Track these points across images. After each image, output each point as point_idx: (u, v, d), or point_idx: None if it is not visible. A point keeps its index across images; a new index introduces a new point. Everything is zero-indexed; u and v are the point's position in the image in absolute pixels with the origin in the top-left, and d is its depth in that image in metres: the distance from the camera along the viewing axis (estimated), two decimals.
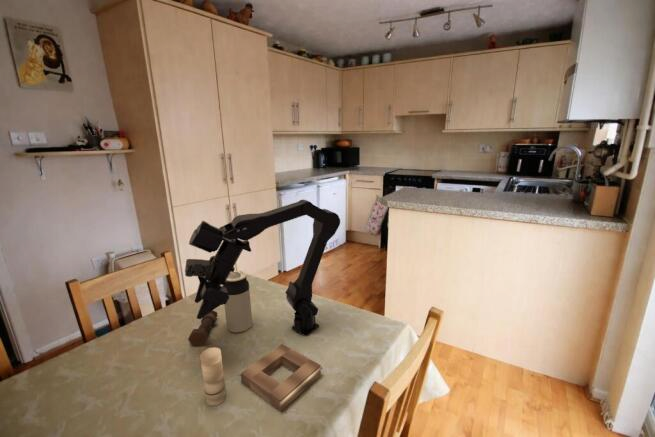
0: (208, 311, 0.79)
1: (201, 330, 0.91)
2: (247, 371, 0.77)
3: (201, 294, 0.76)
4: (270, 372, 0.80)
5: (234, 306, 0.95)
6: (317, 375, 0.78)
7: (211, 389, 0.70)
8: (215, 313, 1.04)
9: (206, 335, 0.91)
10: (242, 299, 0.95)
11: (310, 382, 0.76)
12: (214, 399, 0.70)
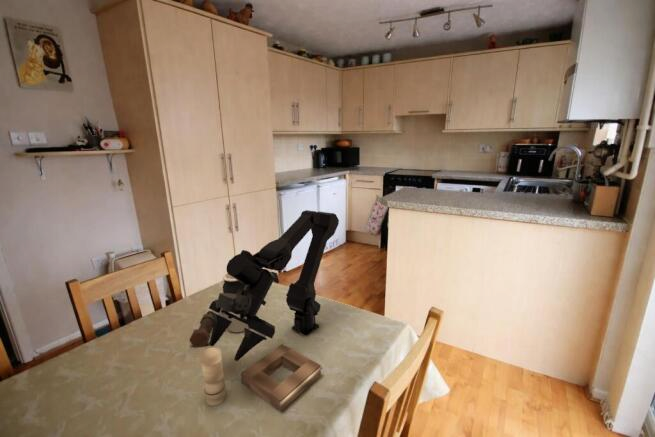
0: (248, 350, 0.71)
1: (202, 330, 0.91)
2: (247, 371, 0.77)
3: (249, 330, 0.70)
4: (270, 372, 0.80)
5: None
6: (317, 375, 0.78)
7: (211, 389, 0.70)
8: None
9: (207, 335, 0.91)
10: None
11: (310, 382, 0.76)
12: (214, 399, 0.70)
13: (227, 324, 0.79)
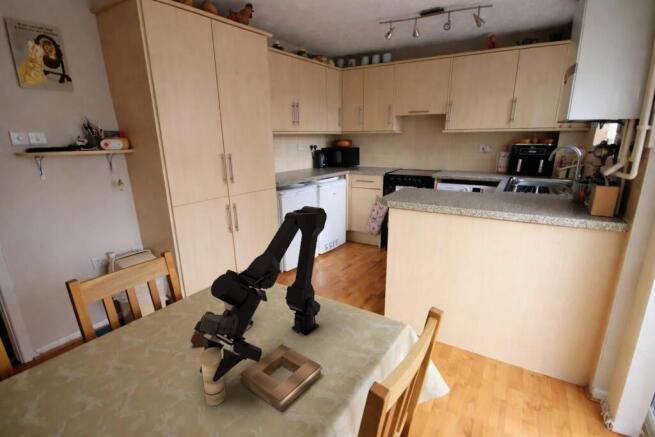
0: (227, 370, 0.70)
1: None
2: (247, 371, 0.77)
3: (228, 350, 0.68)
4: (270, 372, 0.80)
5: None
6: (317, 375, 0.78)
7: (211, 389, 0.70)
8: (212, 314, 1.03)
9: None
10: None
11: (310, 382, 0.76)
12: (214, 399, 0.70)
13: (219, 348, 0.75)
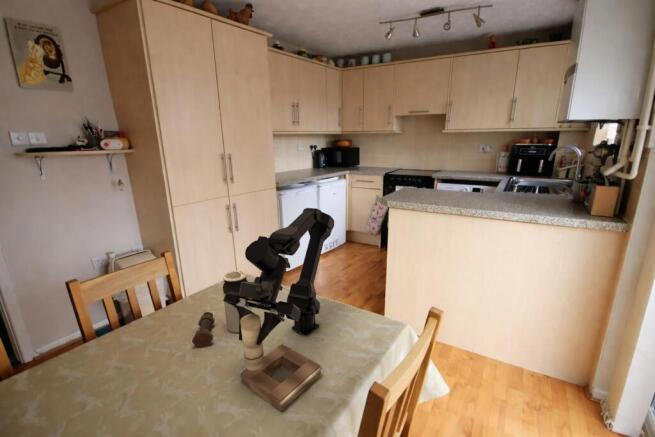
0: (268, 333, 0.72)
1: (205, 330, 0.91)
2: (247, 371, 0.77)
3: (270, 312, 0.70)
4: (270, 372, 0.80)
5: None
6: (317, 375, 0.78)
7: (253, 353, 0.71)
8: (211, 314, 1.03)
9: (210, 335, 0.91)
10: None
11: (310, 382, 0.76)
12: (256, 363, 0.71)
13: None
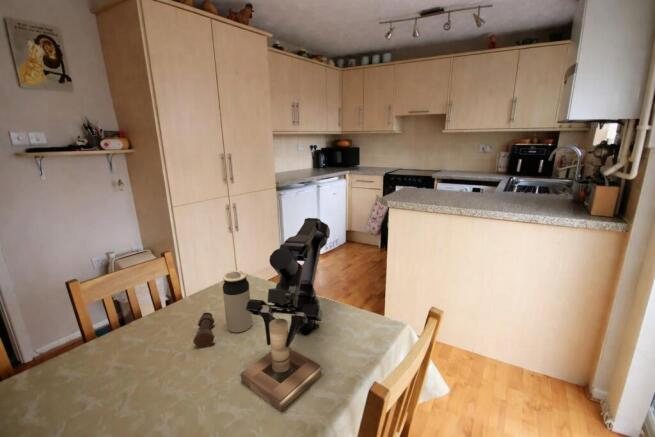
0: (294, 335, 0.76)
1: (207, 331, 0.91)
2: (247, 371, 0.77)
3: (297, 315, 0.75)
4: (270, 372, 0.80)
5: (234, 306, 0.95)
6: (317, 375, 0.78)
7: (283, 356, 0.74)
8: (210, 314, 1.03)
9: (212, 335, 0.91)
10: (242, 299, 0.95)
11: (310, 382, 0.76)
12: (285, 365, 0.75)
13: None
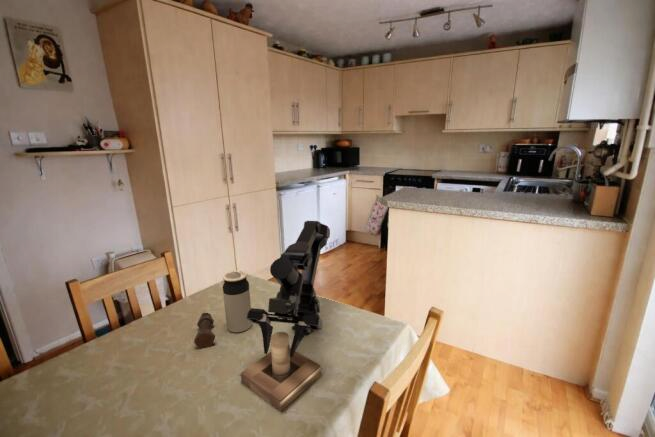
0: (298, 345, 0.77)
1: (207, 331, 0.91)
2: (247, 371, 0.77)
3: (301, 325, 0.75)
4: (270, 372, 0.80)
5: (234, 306, 0.95)
6: (317, 375, 0.78)
7: (284, 369, 0.75)
8: (209, 315, 1.03)
9: (213, 335, 0.91)
10: (242, 299, 0.95)
11: (310, 382, 0.76)
12: (285, 378, 0.76)
13: (271, 330, 0.80)
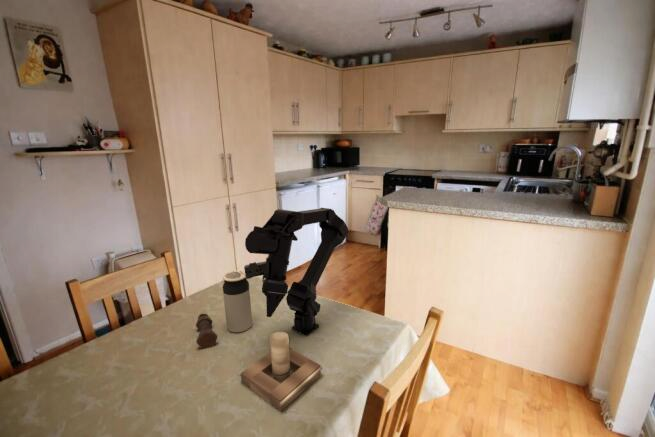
0: (275, 307, 0.79)
1: (210, 330, 0.91)
2: (247, 371, 0.77)
3: (262, 290, 0.77)
4: (270, 372, 0.80)
5: (234, 306, 0.95)
6: (317, 375, 0.78)
7: (283, 369, 0.75)
8: (207, 315, 1.02)
9: (215, 335, 0.91)
10: (242, 299, 0.95)
11: (310, 382, 0.76)
12: (285, 378, 0.76)
13: None
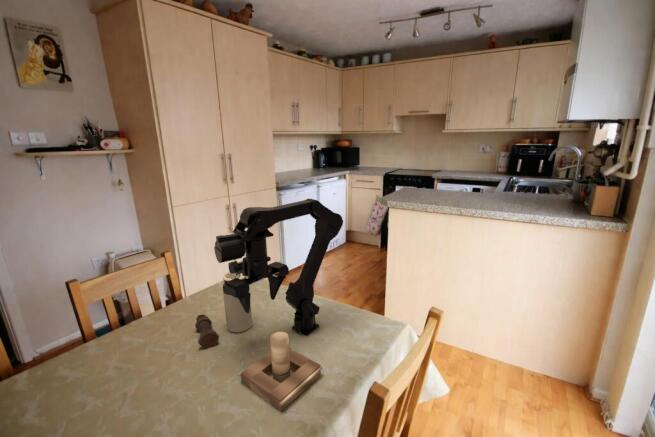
0: (245, 305, 0.82)
1: (211, 330, 0.91)
2: (247, 371, 0.77)
3: None
4: (270, 372, 0.80)
5: (234, 306, 0.95)
6: (317, 375, 0.78)
7: (284, 369, 0.75)
8: None
9: (217, 334, 0.91)
10: None
11: (310, 382, 0.76)
12: (285, 378, 0.76)
13: (276, 282, 0.89)
